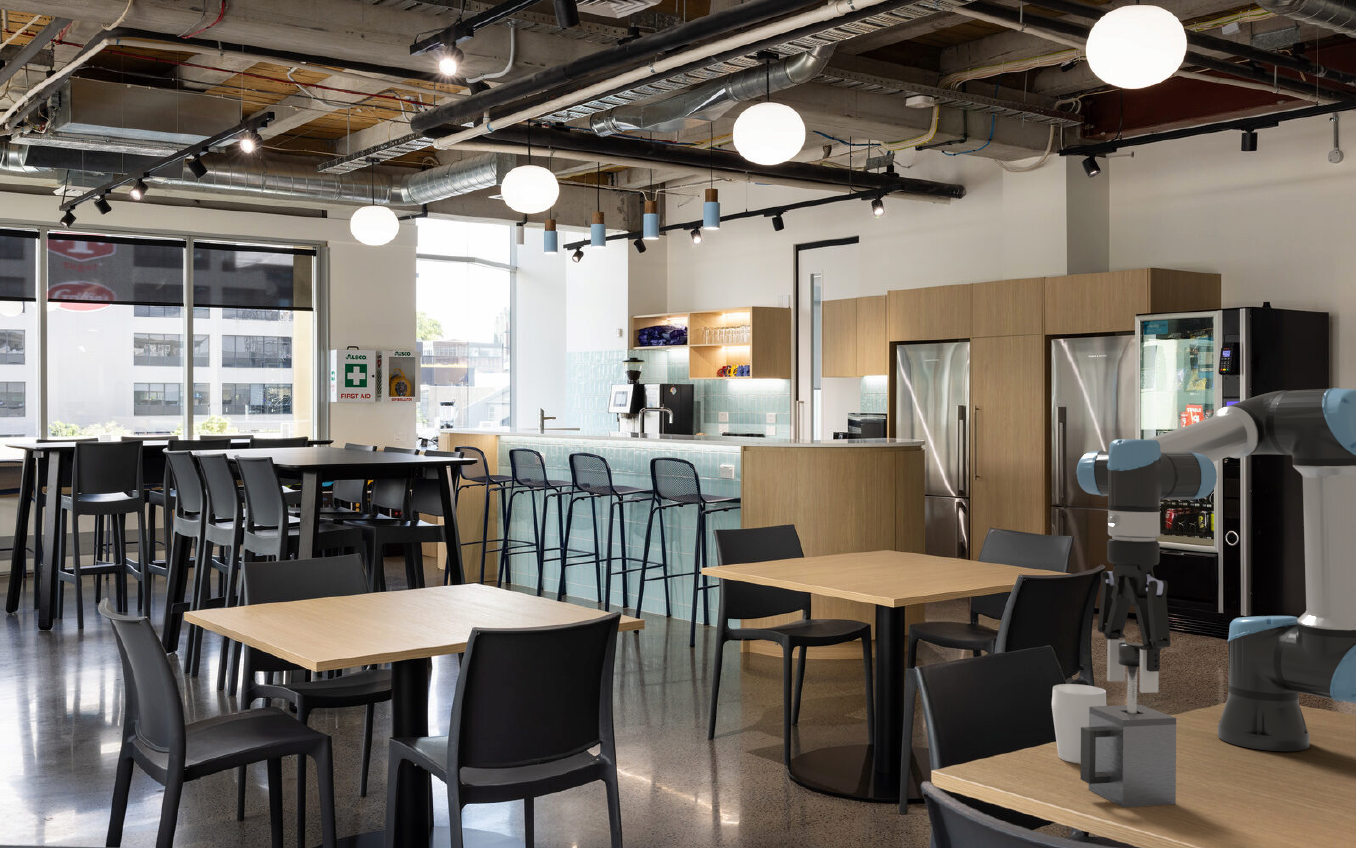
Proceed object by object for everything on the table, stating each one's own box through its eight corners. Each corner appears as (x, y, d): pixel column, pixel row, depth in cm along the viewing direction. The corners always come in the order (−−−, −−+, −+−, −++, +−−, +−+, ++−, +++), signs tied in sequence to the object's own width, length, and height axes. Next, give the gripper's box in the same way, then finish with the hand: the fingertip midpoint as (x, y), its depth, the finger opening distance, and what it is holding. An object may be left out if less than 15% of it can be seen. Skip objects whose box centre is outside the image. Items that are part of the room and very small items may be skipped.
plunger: (1137, 770, 181) (1138, 640, 182) (1162, 782, 175) (1163, 648, 176) (1100, 772, 180) (1102, 641, 180) (1125, 784, 174) (1126, 649, 174)
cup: (1110, 768, 194) (1111, 696, 194) (1054, 764, 195) (1055, 693, 196) (1101, 754, 202) (1102, 685, 203) (1048, 750, 204) (1049, 682, 204)
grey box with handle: (1139, 786, 183) (1140, 704, 183) (1175, 804, 174) (1176, 718, 174) (1068, 790, 180) (1069, 707, 180) (1101, 808, 171) (1102, 721, 172)
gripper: (1074, 533, 187) (1073, 674, 187) (1153, 544, 167) (1151, 702, 167) (1115, 533, 189) (1114, 672, 189) (1198, 544, 169) (1197, 700, 169)
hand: (1132, 686), depth 178 cm, fingers open, 8 cm apart
